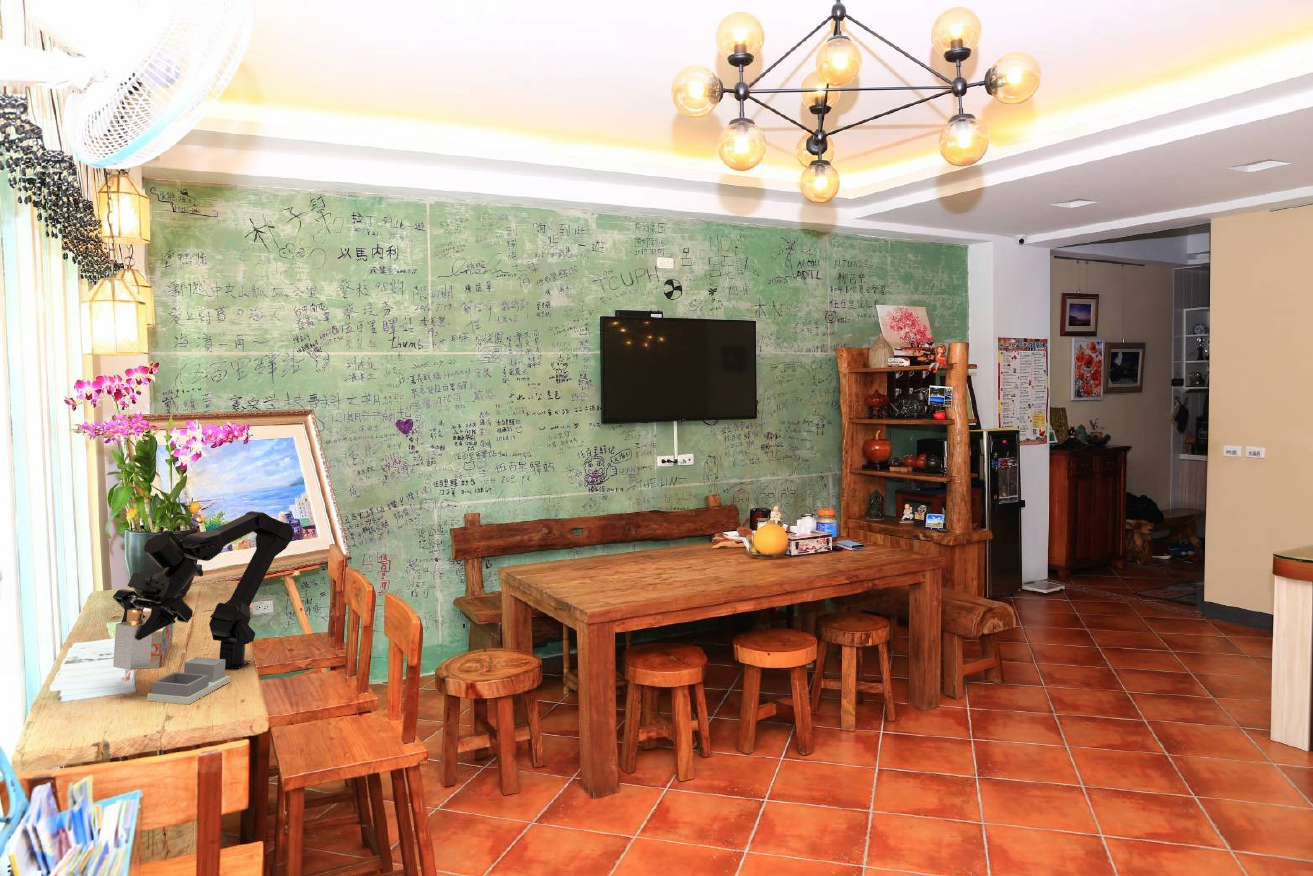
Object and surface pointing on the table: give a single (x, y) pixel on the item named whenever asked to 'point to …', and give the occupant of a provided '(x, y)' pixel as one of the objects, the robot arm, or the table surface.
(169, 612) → the robot arm
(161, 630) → the stack of blocks
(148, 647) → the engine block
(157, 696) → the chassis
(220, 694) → the table surface
